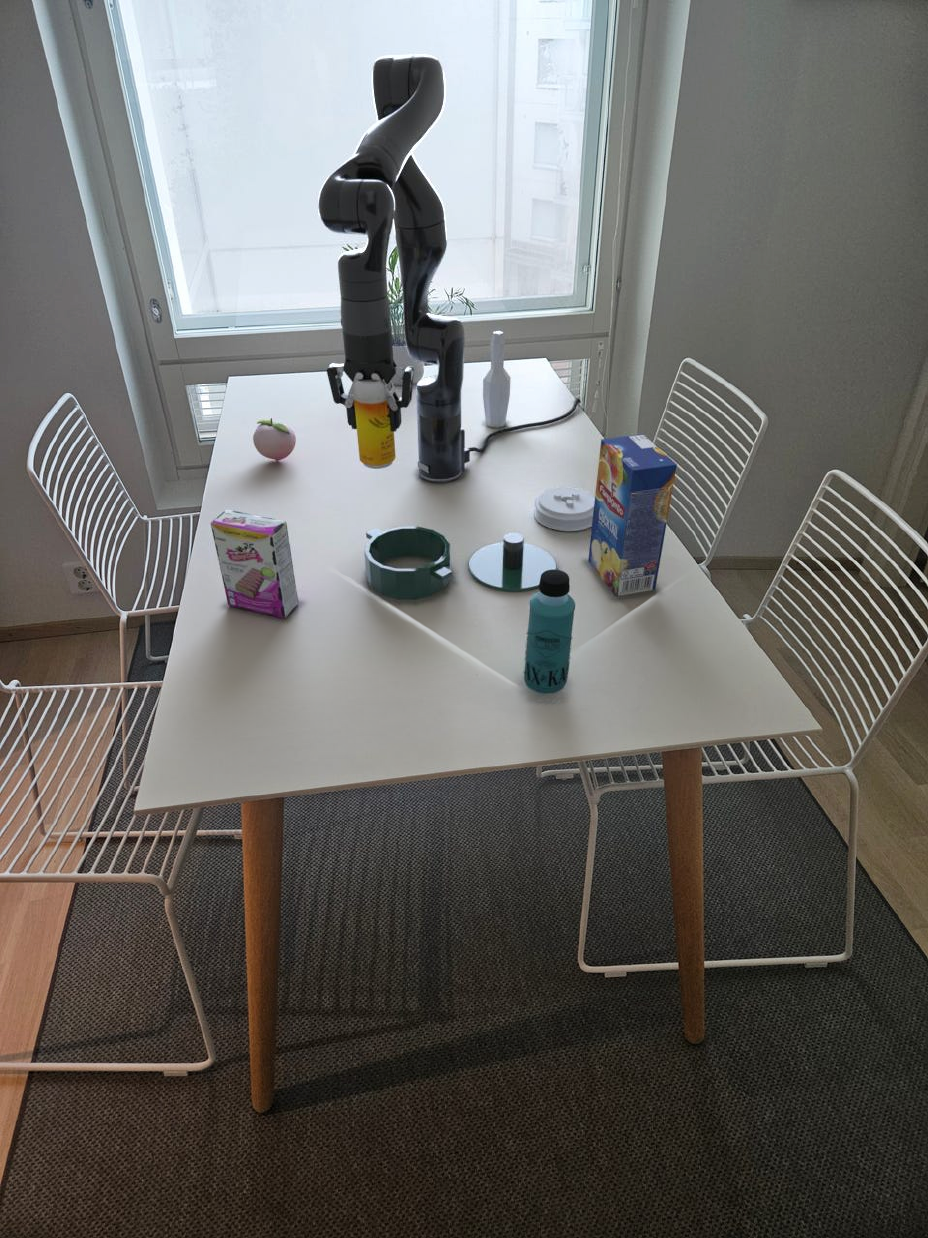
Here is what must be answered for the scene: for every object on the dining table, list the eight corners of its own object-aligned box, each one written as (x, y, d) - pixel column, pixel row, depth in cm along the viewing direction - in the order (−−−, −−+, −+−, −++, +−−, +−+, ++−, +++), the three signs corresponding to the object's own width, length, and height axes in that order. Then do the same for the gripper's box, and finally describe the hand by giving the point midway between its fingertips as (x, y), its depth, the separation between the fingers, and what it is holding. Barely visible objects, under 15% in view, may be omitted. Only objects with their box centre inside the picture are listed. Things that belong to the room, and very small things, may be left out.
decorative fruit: (248, 465, 178) (241, 422, 172) (269, 450, 184) (262, 408, 178) (285, 472, 175) (278, 429, 169) (304, 457, 181) (299, 415, 175)
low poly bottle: (513, 422, 197) (517, 331, 184) (500, 431, 193) (503, 338, 180) (491, 416, 200) (493, 326, 187) (477, 425, 195) (479, 333, 182)
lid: (606, 511, 161) (608, 488, 158) (586, 541, 152) (588, 517, 149) (546, 498, 165) (548, 476, 162) (524, 526, 156) (525, 504, 153)
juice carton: (655, 592, 138) (677, 464, 124) (615, 598, 137) (633, 470, 122) (625, 556, 148) (642, 433, 133) (587, 562, 146) (601, 439, 132)
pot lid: (510, 538, 153) (511, 507, 149) (573, 570, 144) (576, 537, 140) (451, 569, 144) (450, 537, 140) (515, 605, 135) (516, 572, 131)
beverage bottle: (519, 675, 121) (526, 563, 109) (563, 672, 121) (574, 561, 109) (526, 704, 116) (533, 590, 104) (571, 701, 116) (584, 588, 104)
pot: (403, 542, 152) (401, 512, 148) (478, 584, 140) (478, 554, 137) (341, 572, 144) (338, 541, 140) (416, 619, 132) (414, 588, 128)
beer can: (390, 471, 134) (384, 384, 125) (355, 468, 135) (346, 381, 125) (399, 455, 138) (394, 370, 129) (365, 452, 139) (358, 367, 130)
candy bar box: (226, 607, 135) (207, 522, 125) (242, 591, 139) (225, 507, 129) (285, 620, 132) (271, 534, 122) (300, 603, 136) (287, 519, 126)
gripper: (417, 320, 125) (422, 421, 135) (328, 315, 126) (339, 416, 137) (407, 335, 119) (412, 441, 129) (313, 331, 121) (326, 435, 131)
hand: (374, 428), depth 133 cm, fingers closed on beer can, 6 cm apart
